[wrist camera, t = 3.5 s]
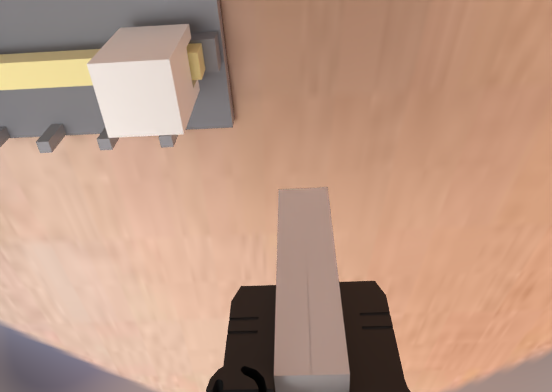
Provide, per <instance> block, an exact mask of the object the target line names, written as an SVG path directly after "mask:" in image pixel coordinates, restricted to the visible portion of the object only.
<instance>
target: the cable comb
mask: <svg viewBox="0 0 552 392" xmlns="http://www.w3.org/2000/svg"><path fill="white" fill-rule="evenodd" d="M176 24H189V27H190V33H191V39H190V41H189V43H188V45H187V47H186V49H187V55H188V60H189V66H190V72H191V78H192V80H198V82H199V88H200V91H199V93H198V96H197V99H196V102H195V104H194V107H193V110H192V113H191V116H190V118H189V121H188V124H187V127H186V130H187V129H208V128H229V127H233V124H234V112H233V104H232V96H231V88H230V80H229V72H228V63H227V55H226V47H225V39H224V31H223V23H222V15H221V7H220V0H0V147H1V146H2V145H3V144H4V143H5V142H6V141H7V140H8V138H19V137H40V136H41V137H40V138H39V139H38V140H37V142H36V143H37V146H38V149H39V151H40V153H49V152H53V151H54V149H55V148H56V147H57V145H58V144H59V143H60V141H61V140H62V139H63V138H64V136H65V135H82V134H100V135H99V137H98V138H97V141H98V144H99V148H100V150H112V149H113V148H114V146H115V144H116V143H117V141H118V139H119V137H115V138H108V134H107V131H106V128H105V124H104V121H103V118H102V114H101V111H100V107H99V104H98V101H97V97H96V94H95V90H94V87H93V84H92V80H91V77H90V74H89V70H88V67H87V63H88V62H89V61H90V60H91V59H92V58H93V57H94V55H95V54H96V53H97V52H98V51H99V50H100V49H101V48H102V47H103V46H104V45H105V43H106V42H107V41H108V40H109V39H110V38H111V37H112V36H113V35H114V34H115V33H116V31H117V30H118V29H119V28H125V27H142V26H159V25H176ZM177 136H178V135H159V140H160V144H161V147H174V144H175V141H176V139H177Z"/></svg>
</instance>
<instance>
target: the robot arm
mask: <svg viewBox="0 0 552 392" xmlns="http://www.w3.org/2000/svg"><path fill="white" fill-rule="evenodd" d="M229 318H230V321H229V325H228V335H227V341H226V349H225V358H224V366H223V367H222V368H220V369H218V371H217V372H216V373H215V374H214V375H213V376H212V377H211V379H210V381H209V384H208V386H207V389H206V392H410V390H409V389H408V387H407V385H406V382H405V379H404V375H403V370H402V366H401V361H400V357H399V352H398V348H397V343H396V339H395V334H394V330H393V325H392V321H391V316H390V312H389V307H388V303H387V298H386V295H385V294H384V292H383V291H382V290H381V288H380V287H379V286H378V285H377V283H376V282H375V281H357V282H339V278H338V270H337V262H336V253H335V245H334V236H333V228H332V220H331V211H330V203H329V195H328V187H321V188H297V189H279V197H278V234H277V272H276V285H267V286H241V287H240V289H239V290H238V292H237V293H236V295H235V297H234V298H233V300H232V301H231V309H230V317H229Z"/></svg>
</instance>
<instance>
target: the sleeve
mask: <svg viewBox="0 0 552 392" xmlns="http://www.w3.org/2000/svg"><path fill="white" fill-rule="evenodd" d="M190 39H191V33H190V27H189V24H176V25H159V26H142V27H125V28H119V29H118V30H117V31H116V33H115V34H114V35H113V36H112V37H111V38H110V39H109V40H108V41H107V42H106V43H105V45H104V46H103V47H102V48H101V49H100V50H99V51H98V52H97V53H96V54H95V55H94V57H93V58H92V59H91V60H90V61H89V62H88V63H87V67H88V70H89V74H90V77H91V80H92V84H93V87H94V90H95V94H96V97H97V101H98V104H99V107H100V111H101V114H102V118H103V121H104V124H105V128H106V131H107V134H108V138H115V137H136V136H157V135H179V134H184V132H185V130H186V127H187V124H188V121H189V118H190V116H191V113H192V110H193V107H194V104H195V102H196V99H197V96H198V93H199V91H200V88H199V82H198V80H192V78H191V72H190V66H189V60H188V55H187V49H186V47H187V45H188V43H189V41H190Z"/></svg>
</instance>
